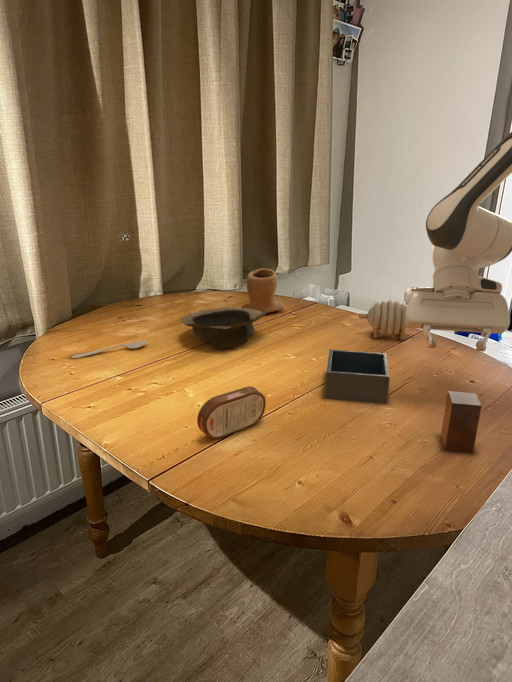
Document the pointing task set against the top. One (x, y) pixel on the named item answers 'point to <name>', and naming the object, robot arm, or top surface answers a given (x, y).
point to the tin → (231, 412)
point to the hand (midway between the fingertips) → (456, 348)
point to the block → (460, 421)
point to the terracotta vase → (263, 291)
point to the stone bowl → (224, 325)
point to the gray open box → (357, 376)
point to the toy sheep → (387, 318)
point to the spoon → (129, 345)
